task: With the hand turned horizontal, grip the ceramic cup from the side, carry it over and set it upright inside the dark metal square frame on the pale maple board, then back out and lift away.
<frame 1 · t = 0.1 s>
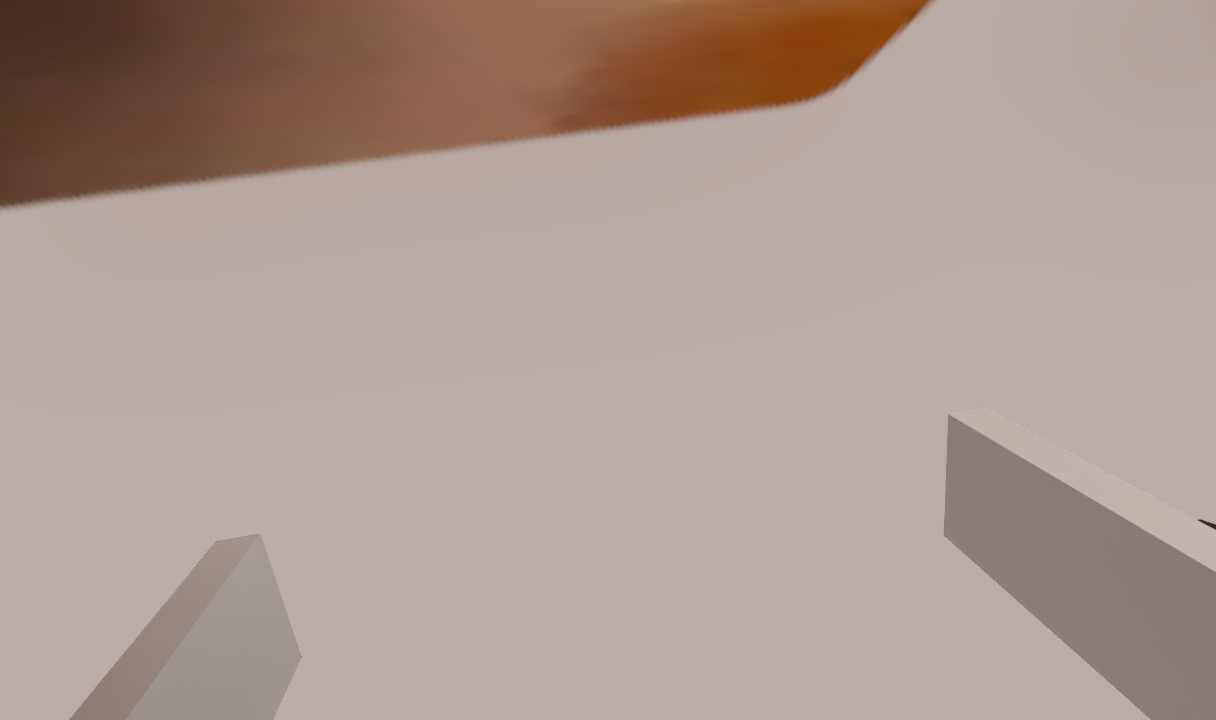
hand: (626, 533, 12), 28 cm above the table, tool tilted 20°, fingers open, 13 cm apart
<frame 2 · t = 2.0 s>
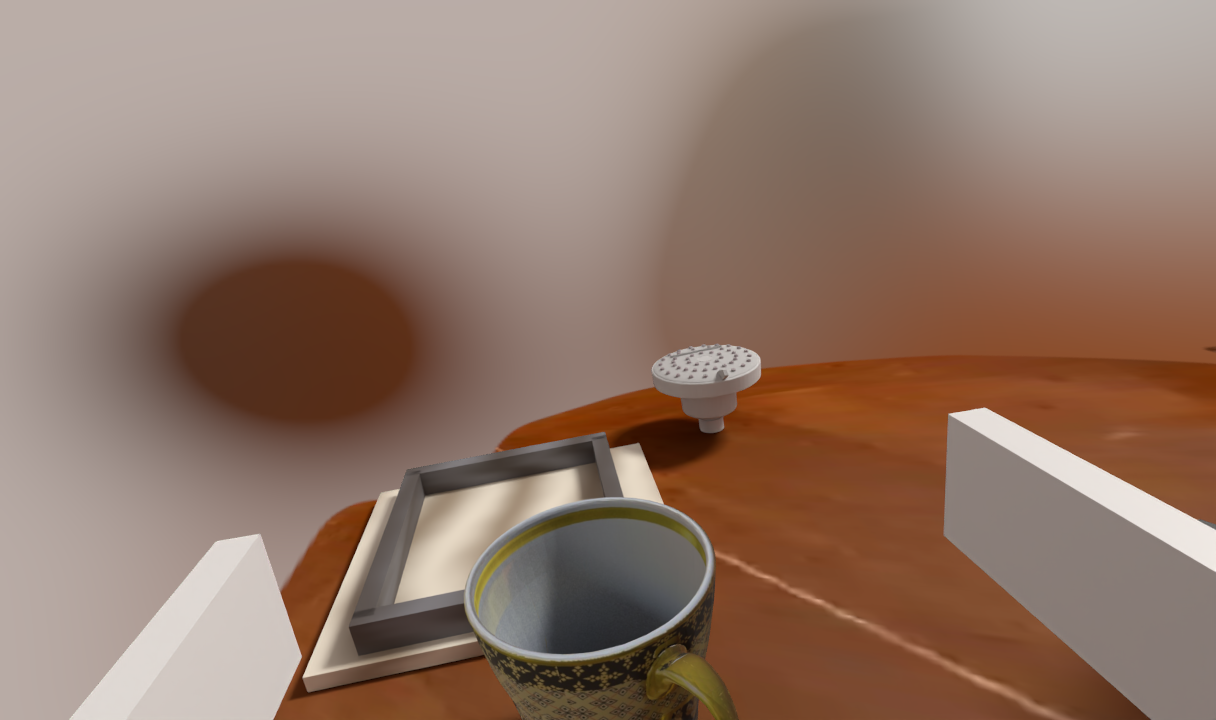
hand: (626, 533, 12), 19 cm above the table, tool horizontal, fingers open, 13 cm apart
square frame board: (512, 545, 45), on the table
showerhead: (713, 431, 58), on the table
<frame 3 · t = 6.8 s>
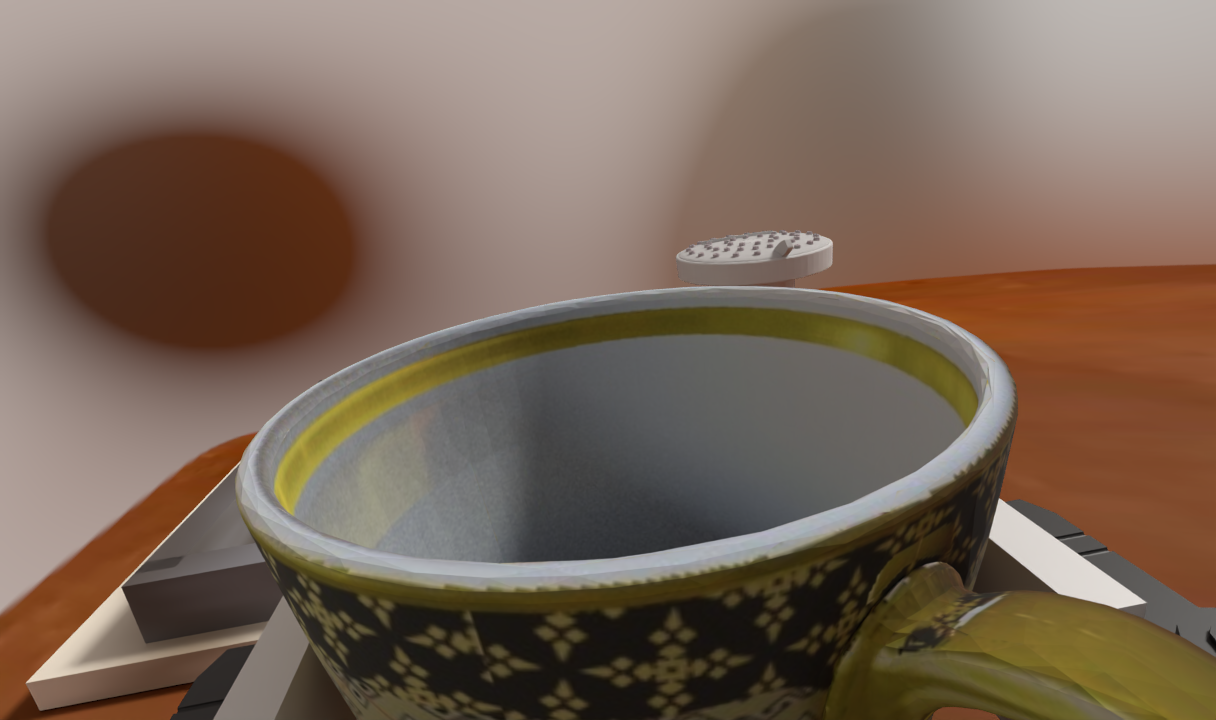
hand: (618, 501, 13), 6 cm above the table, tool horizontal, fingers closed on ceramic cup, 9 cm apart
square frame board: (461, 479, 29), on the table
showerhead: (759, 347, 41), on the table
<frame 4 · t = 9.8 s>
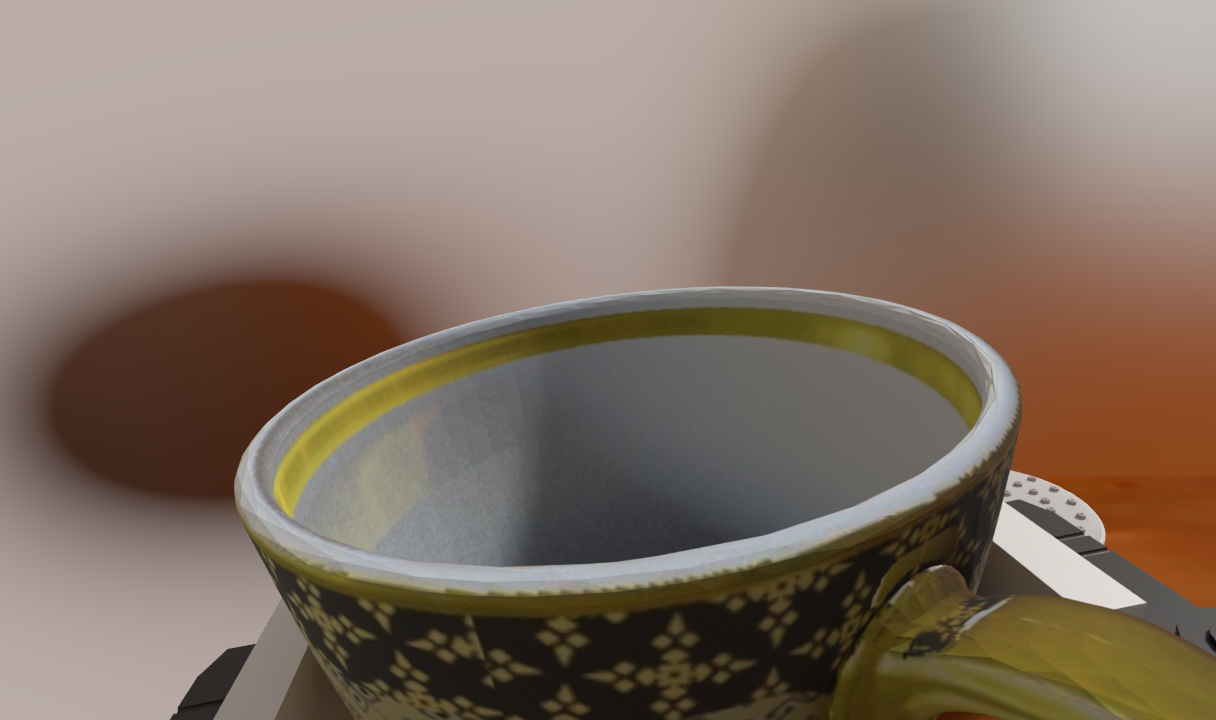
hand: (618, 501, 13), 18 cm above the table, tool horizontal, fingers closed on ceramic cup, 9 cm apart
showerhead: (980, 623, 33), on the table
when the fingers open (8 cm above the table, at t = 12.5 s): ceramic cup drops 1 cm, resting on square frame board.
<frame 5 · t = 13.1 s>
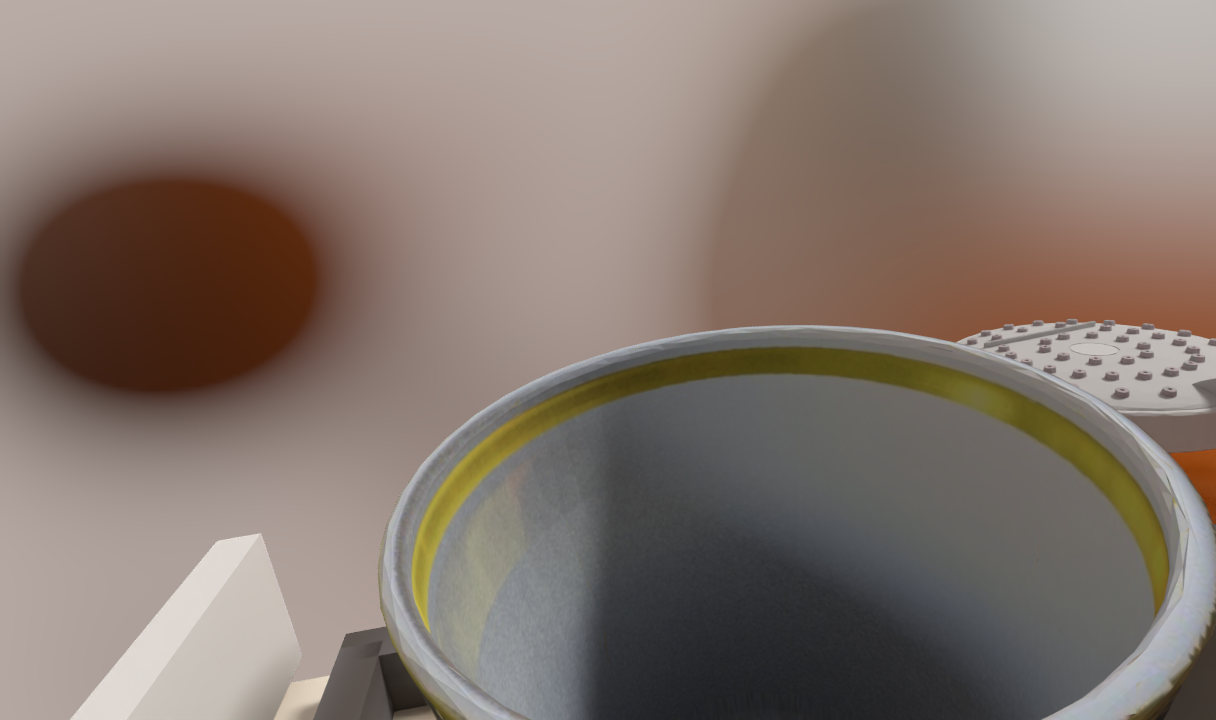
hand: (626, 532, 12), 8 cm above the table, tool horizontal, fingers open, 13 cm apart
showerhead: (1082, 521, 25), on the table
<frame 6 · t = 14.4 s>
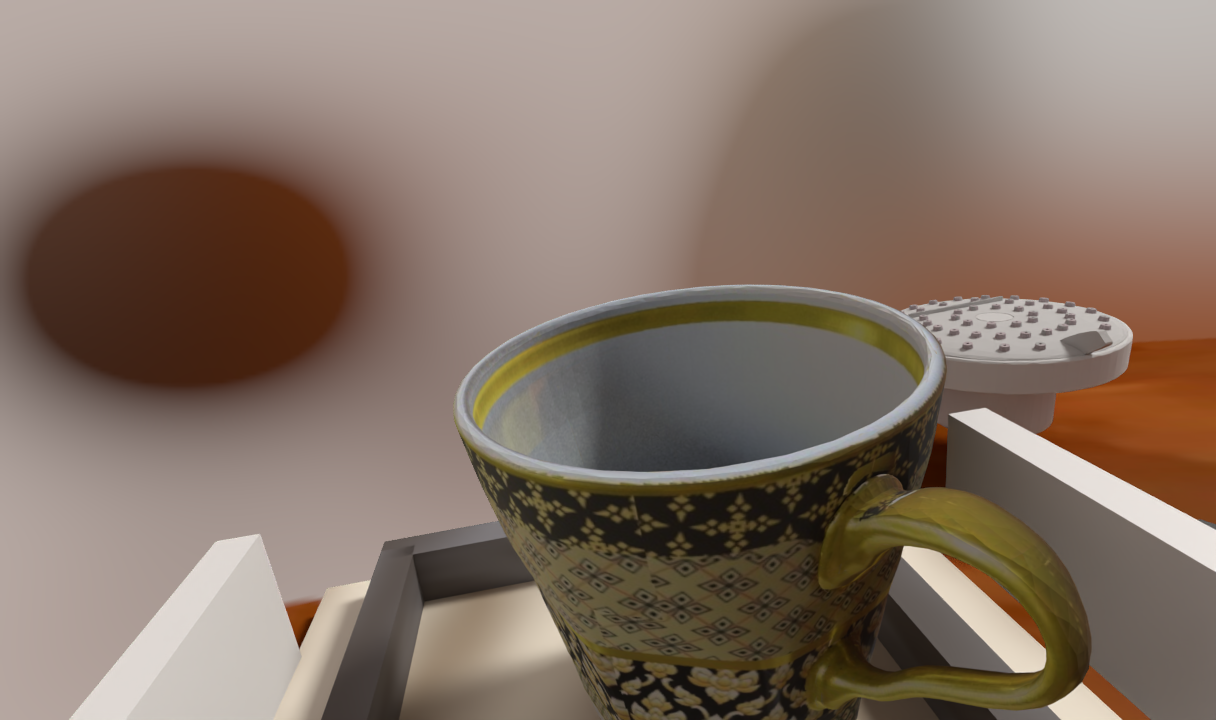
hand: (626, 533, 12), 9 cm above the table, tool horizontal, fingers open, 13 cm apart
showerhead: (990, 462, 29), on the table
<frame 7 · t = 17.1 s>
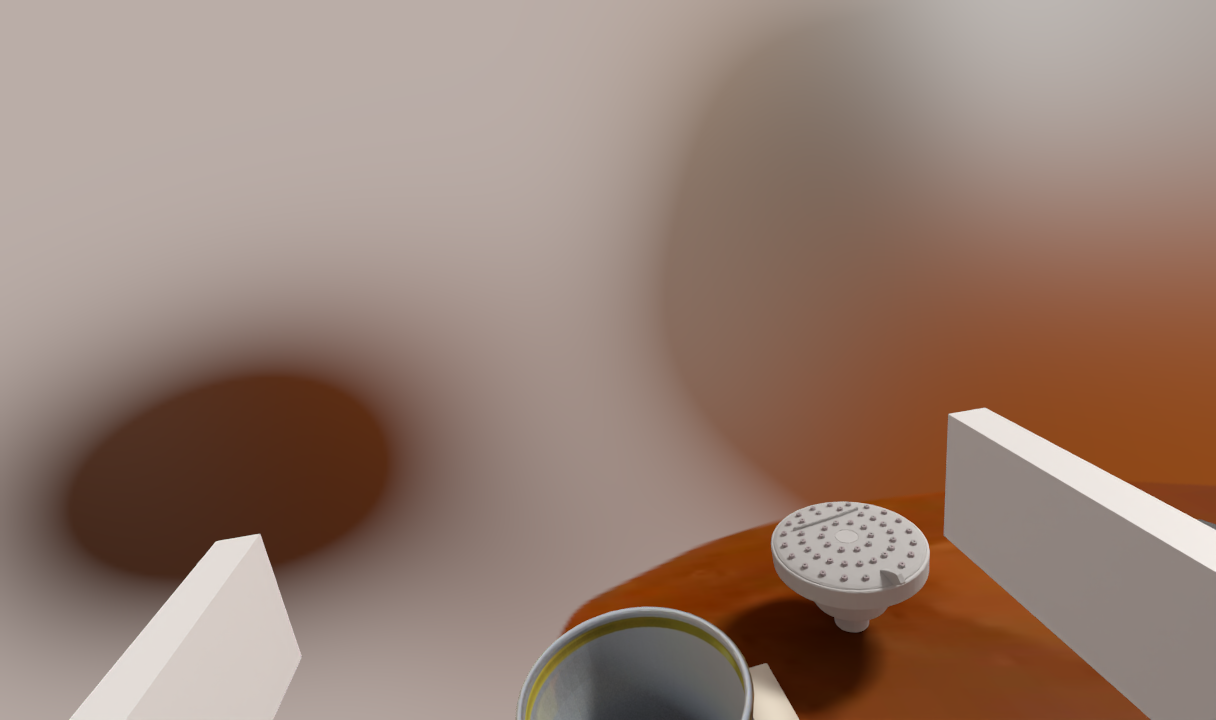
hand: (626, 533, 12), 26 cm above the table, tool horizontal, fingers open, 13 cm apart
showerhead: (854, 625, 43), on the table
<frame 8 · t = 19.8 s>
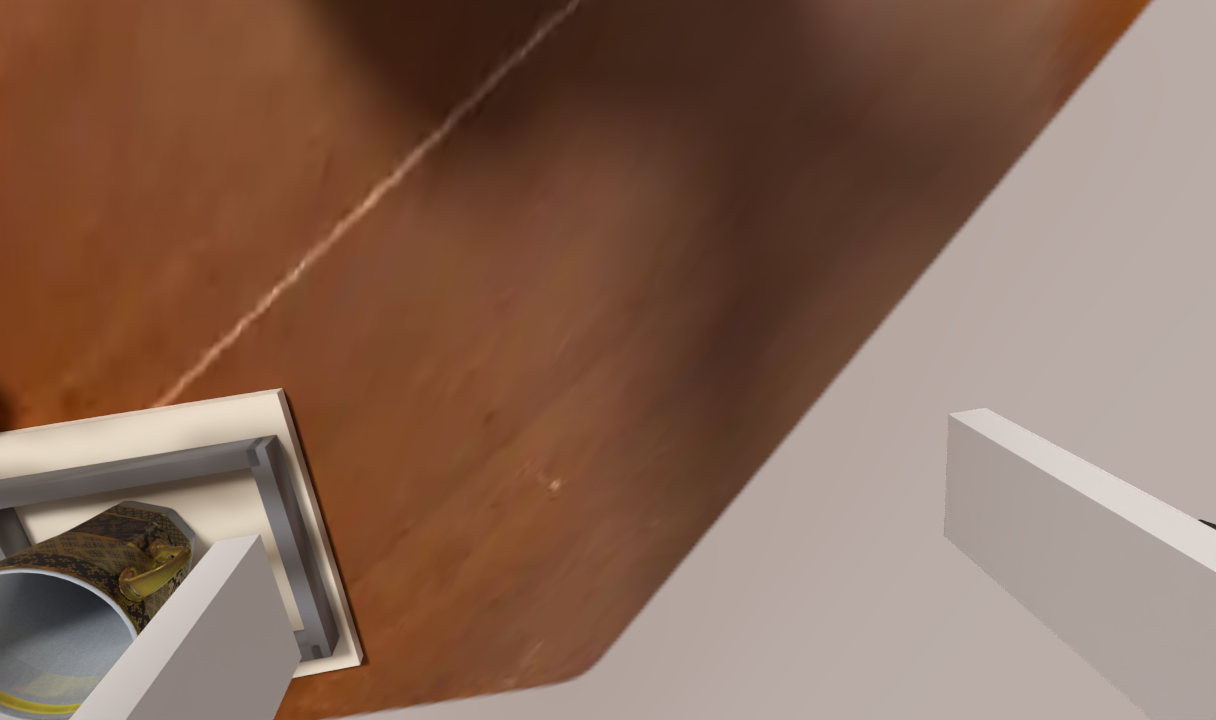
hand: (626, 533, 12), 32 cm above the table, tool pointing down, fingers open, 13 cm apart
square frame board: (180, 556, 45), on the table
ceramic cup: (164, 531, 43), point 1 cm above the table, touching square frame board
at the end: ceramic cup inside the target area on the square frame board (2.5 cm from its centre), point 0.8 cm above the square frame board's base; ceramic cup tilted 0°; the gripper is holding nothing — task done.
